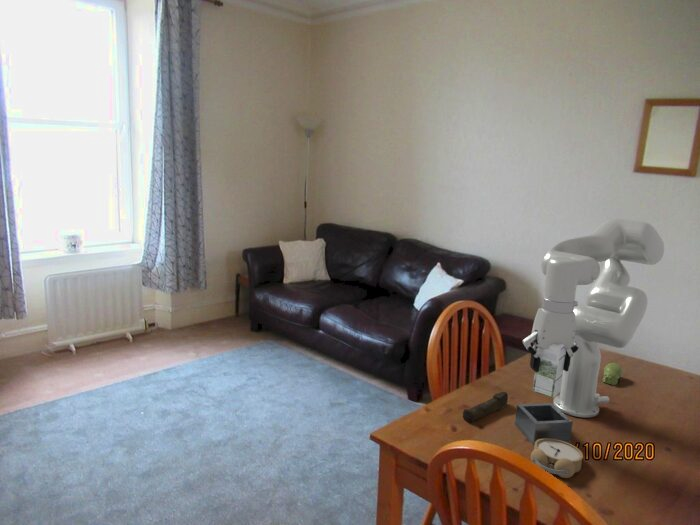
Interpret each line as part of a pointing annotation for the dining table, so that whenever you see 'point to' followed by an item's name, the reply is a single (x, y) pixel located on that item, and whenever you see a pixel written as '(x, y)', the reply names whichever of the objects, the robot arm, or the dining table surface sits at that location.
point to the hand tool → (485, 407)
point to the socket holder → (543, 422)
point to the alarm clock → (557, 457)
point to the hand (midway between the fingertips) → (549, 369)
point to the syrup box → (550, 371)
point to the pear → (612, 373)
